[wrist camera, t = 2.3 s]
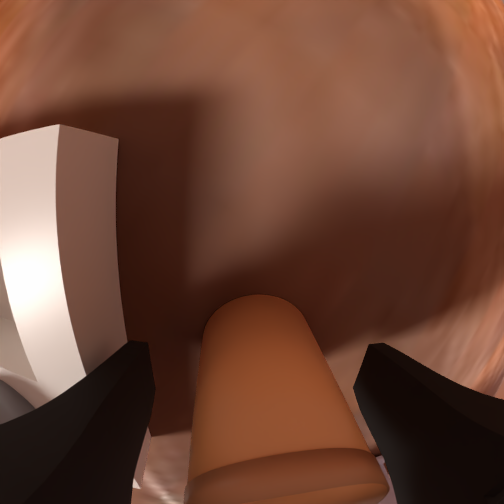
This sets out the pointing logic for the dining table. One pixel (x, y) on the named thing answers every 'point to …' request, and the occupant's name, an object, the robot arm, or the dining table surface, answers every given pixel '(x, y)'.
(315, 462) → the orange tapered cylinder
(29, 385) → the cream block with recess
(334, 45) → the dining table surface
